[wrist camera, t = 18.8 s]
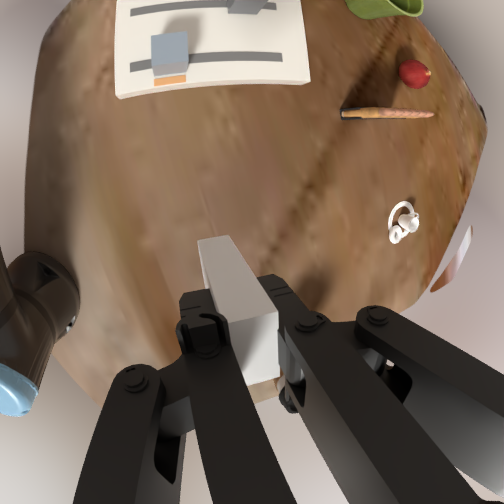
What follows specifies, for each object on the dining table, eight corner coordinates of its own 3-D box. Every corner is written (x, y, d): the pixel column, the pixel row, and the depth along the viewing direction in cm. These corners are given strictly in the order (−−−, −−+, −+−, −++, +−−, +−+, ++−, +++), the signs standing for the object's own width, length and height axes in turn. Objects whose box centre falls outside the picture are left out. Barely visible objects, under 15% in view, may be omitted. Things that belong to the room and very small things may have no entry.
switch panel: (119, 99, 30) (115, 95, 27) (120, 6, 23) (117, -3, 20) (301, 85, 35) (310, 81, 33) (291, 0, 29) (299, -7, 26)
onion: (401, 59, 37) (431, 53, 30) (413, 84, 40) (443, 82, 32) (385, 66, 37) (416, 61, 30) (398, 93, 40) (429, 91, 32)
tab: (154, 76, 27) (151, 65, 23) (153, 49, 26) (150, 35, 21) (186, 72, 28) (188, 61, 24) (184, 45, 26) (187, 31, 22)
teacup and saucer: (387, 246, 52) (400, 253, 48) (380, 212, 48) (394, 218, 45) (414, 227, 52) (427, 233, 49) (409, 194, 49) (423, 199, 45)
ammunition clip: (340, 120, 39) (391, 118, 28) (339, 109, 38) (389, 104, 28) (387, 118, 41) (438, 120, 30) (386, 108, 40) (436, 108, 30)
